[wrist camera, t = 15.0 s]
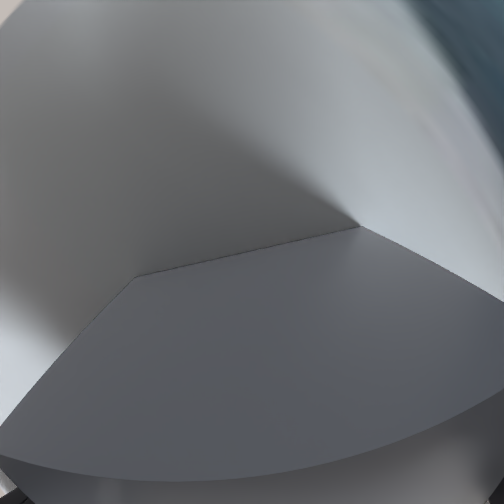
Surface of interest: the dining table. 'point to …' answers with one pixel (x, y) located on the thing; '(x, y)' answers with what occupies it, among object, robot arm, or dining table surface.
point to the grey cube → (274, 386)
